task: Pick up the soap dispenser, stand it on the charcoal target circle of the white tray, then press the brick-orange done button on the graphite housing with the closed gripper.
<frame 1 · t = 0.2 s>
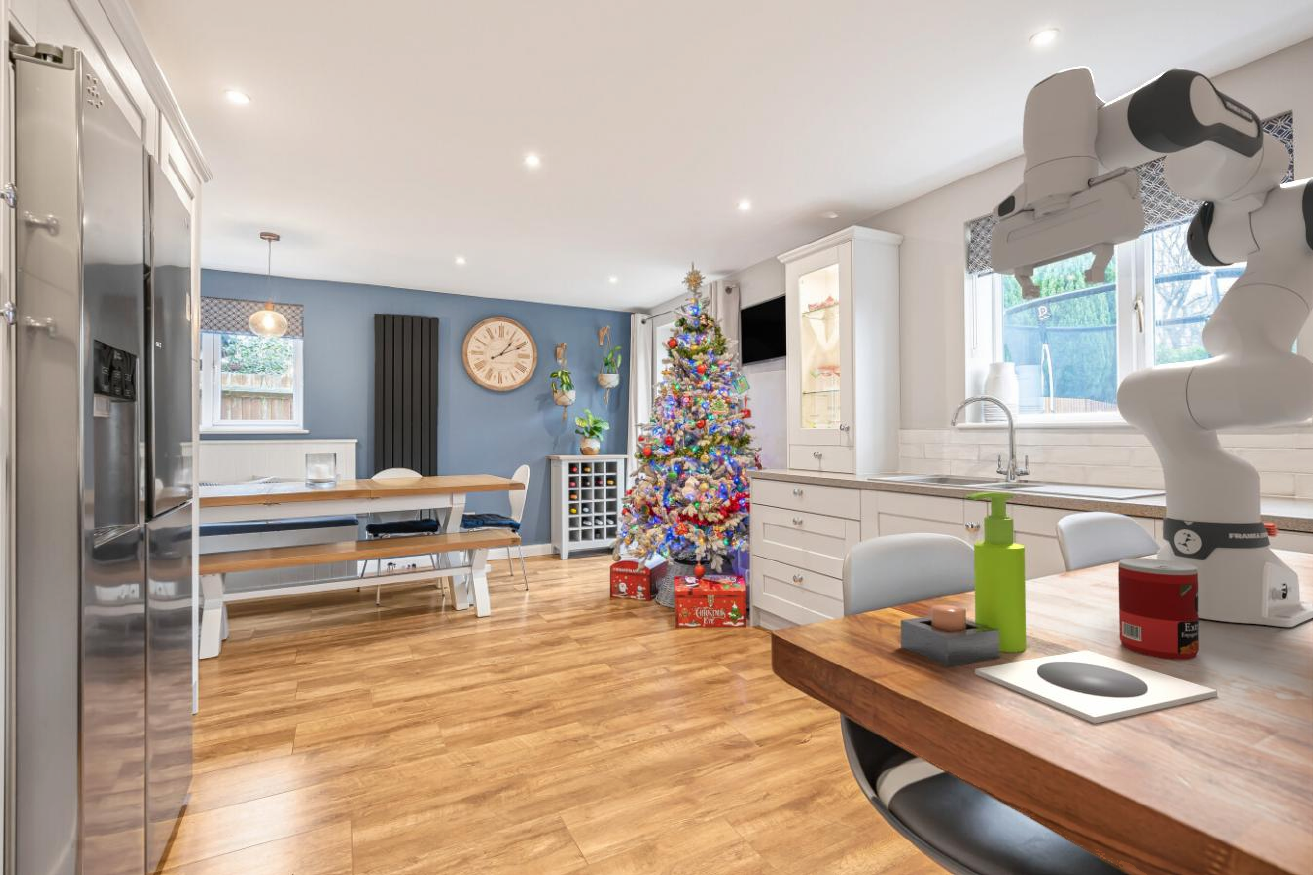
hand: (1061, 291, 89), 47 cm above the table, tool pointing down, fingers open, 8 cm apart
button housing: (948, 652, 82), on the table
soap dispenser: (996, 646, 84), on the table
canned food: (1158, 652, 82), on the table
done button: (948, 620, 82), point 4 cm above the table, slide at 0.0 cm
white tray: (1090, 684, 70), on the table
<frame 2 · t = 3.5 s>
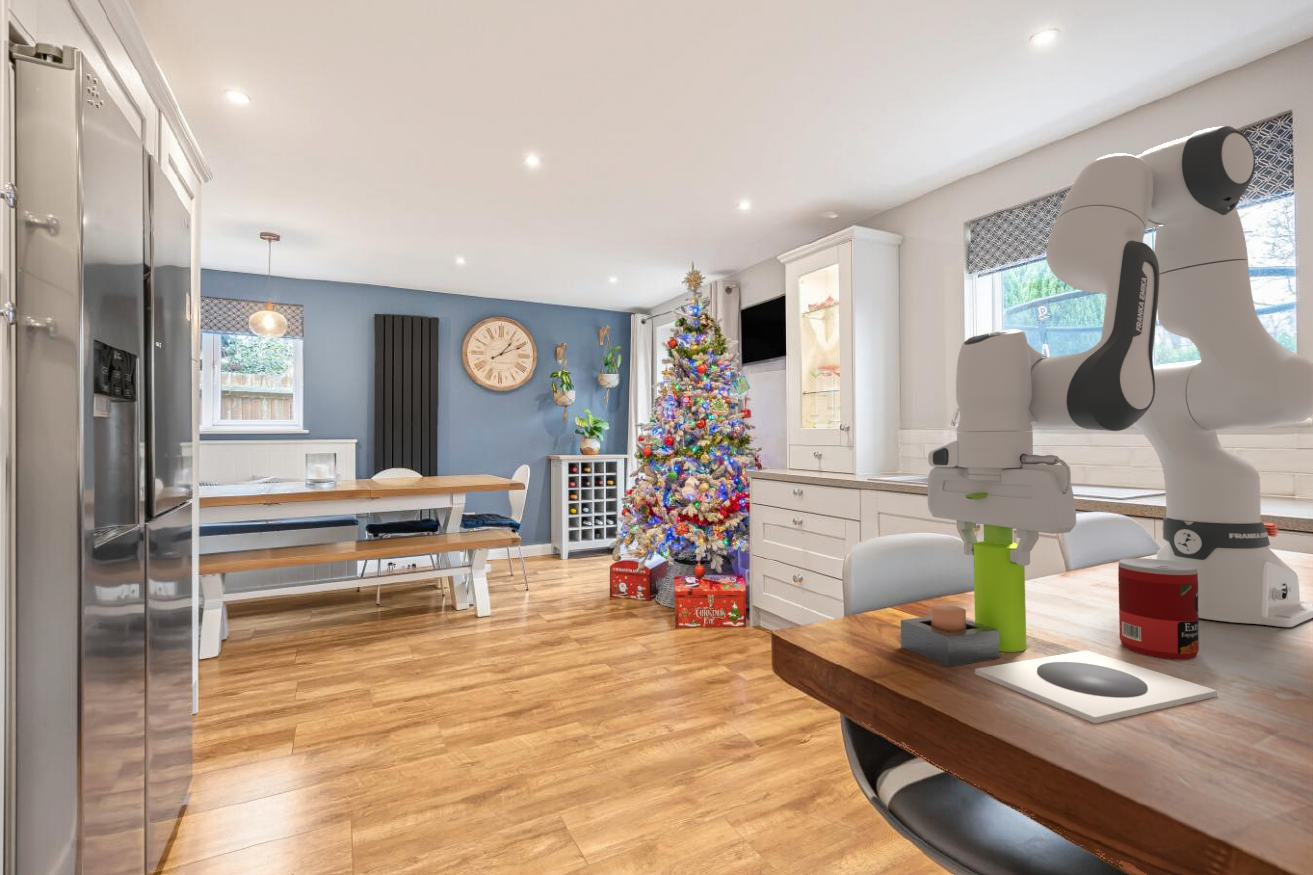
hand: (995, 559, 84), 11 cm above the table, tool pointing down, fingers closed on soap dispenser, 6 cm apart
soap dispenser: (996, 646, 84), on the table, touching gripper
everything else where it was.
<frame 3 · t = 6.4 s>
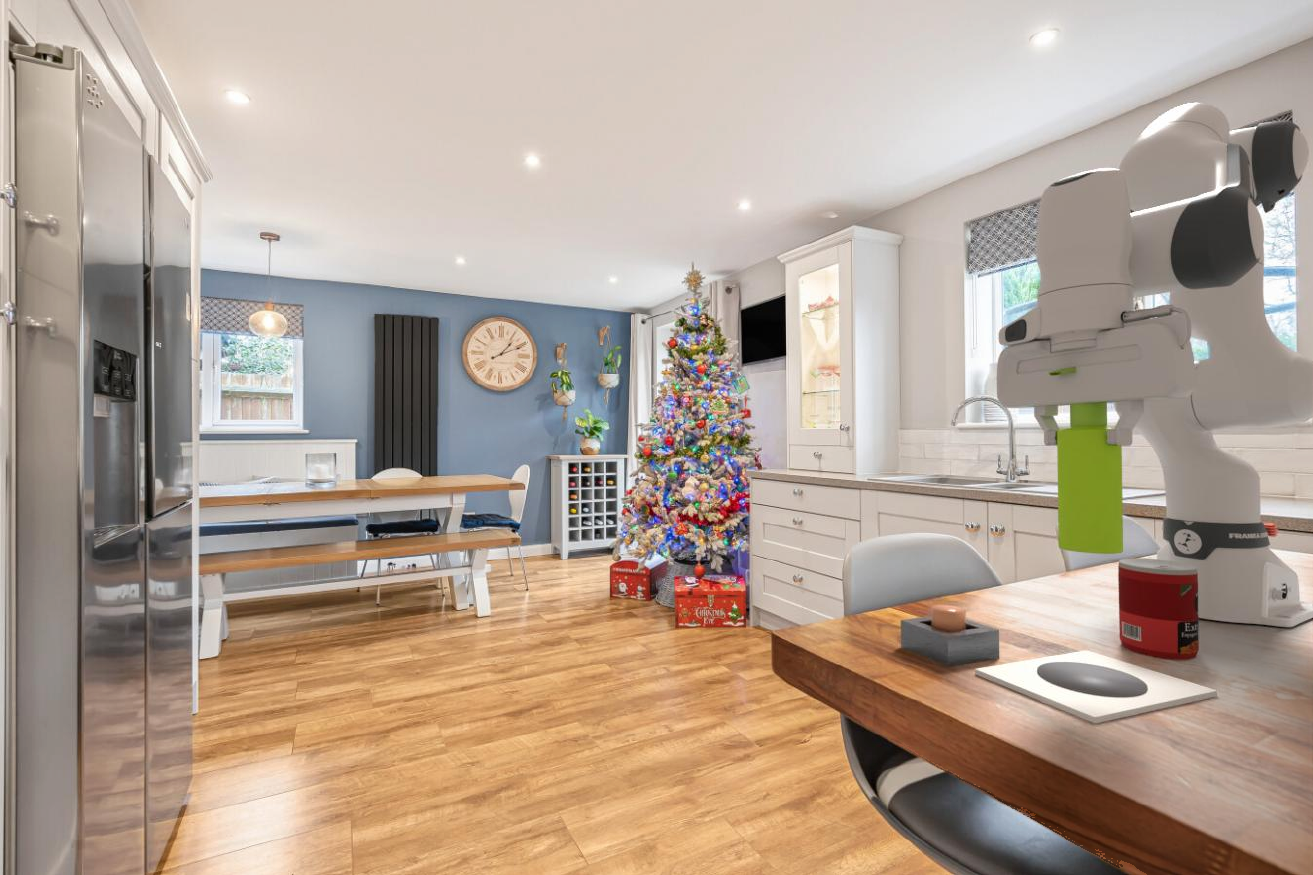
hand: (1085, 445, 71), 26 cm above the table, tool pointing down, fingers closed on soap dispenser, 6 cm apart
soap dispenser: (1085, 551, 71), point 15 cm above the table, touching gripper
everything else where it was.
when the fingers open (13 cm above the table, at t = 9.3 s): soap dispenser stays where it is, resting on white tray.
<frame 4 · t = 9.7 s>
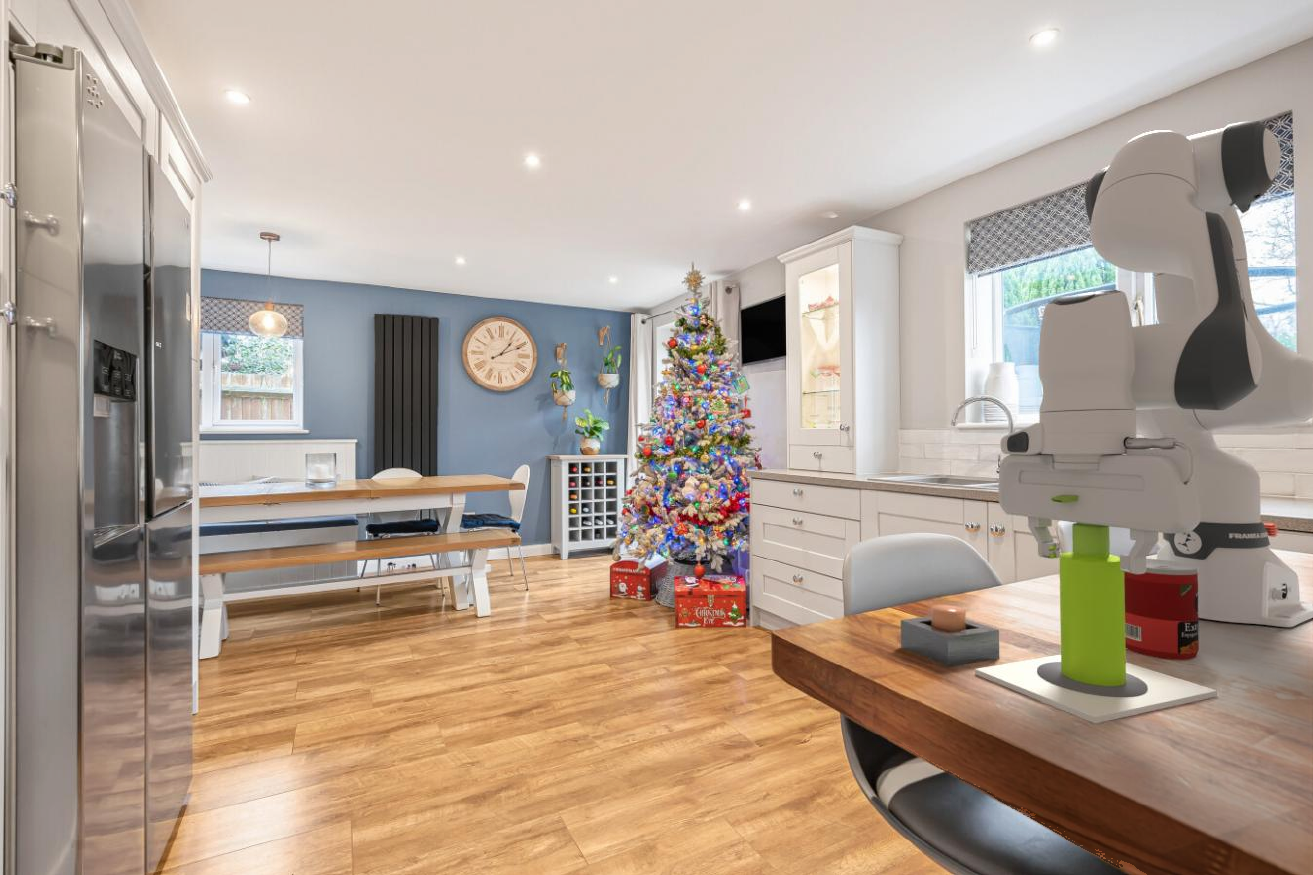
hand: (1088, 564, 71), 13 cm above the table, tool pointing down, fingers open, 8 cm apart
soap dispenser: (1088, 678, 71), point 1 cm above the table, touching white tray
everything else where it was.
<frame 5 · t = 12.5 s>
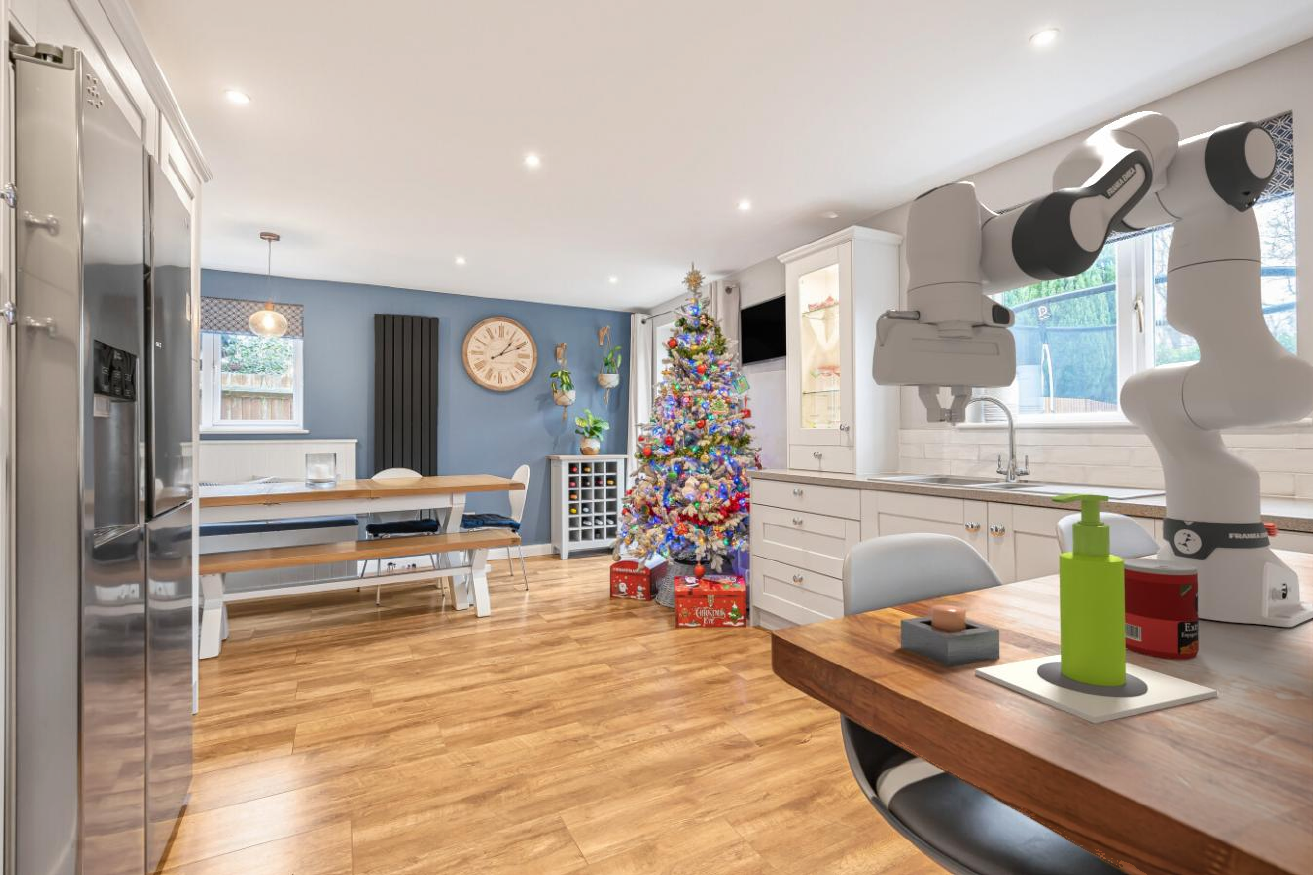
hand: (945, 422, 82), 29 cm above the table, tool pointing down, fingers closed
nothing on the table moved.
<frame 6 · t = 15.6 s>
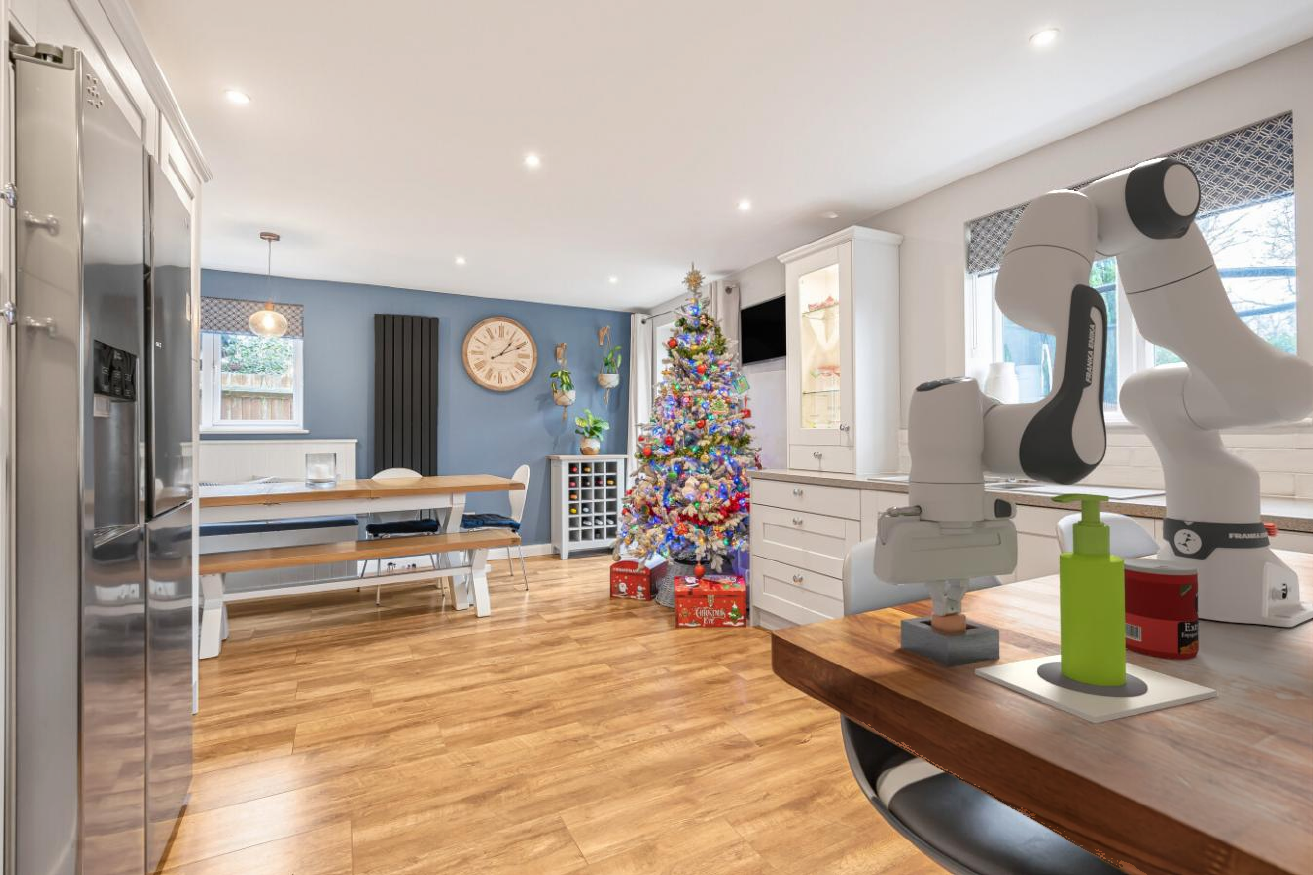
hand: (946, 614, 82), 5 cm above the table, tool pointing down, fingers closed, pressing on done button
done button: (948, 626, 82), point 3 cm above the table, slide at 0.7 cm, touching gripper
everything else where it was.
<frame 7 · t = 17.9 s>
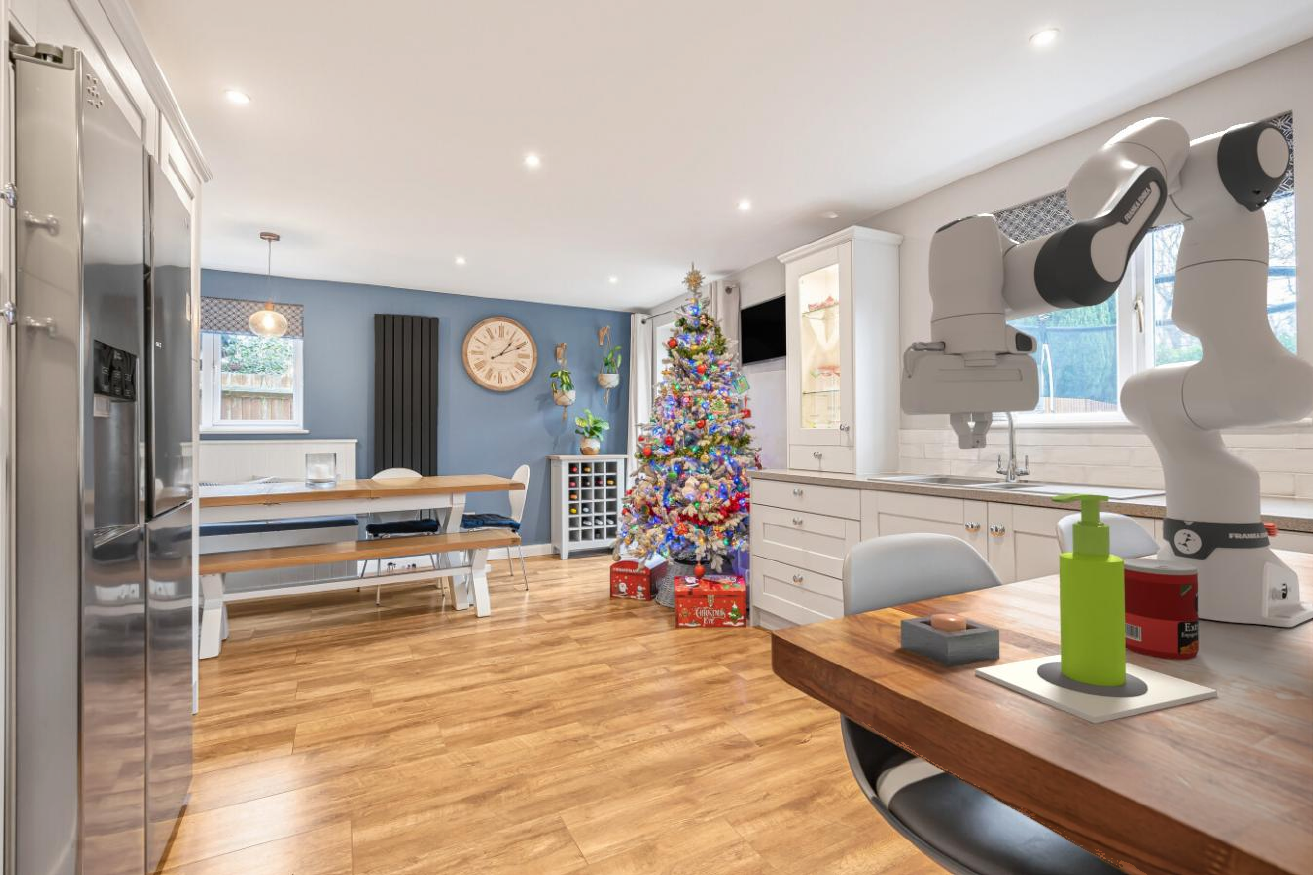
hand: (972, 448, 84), 26 cm above the table, tool pointing down, fingers closed
done button: (948, 629, 82), point 3 cm above the table, slide at 1.1 cm
everything else where it was.
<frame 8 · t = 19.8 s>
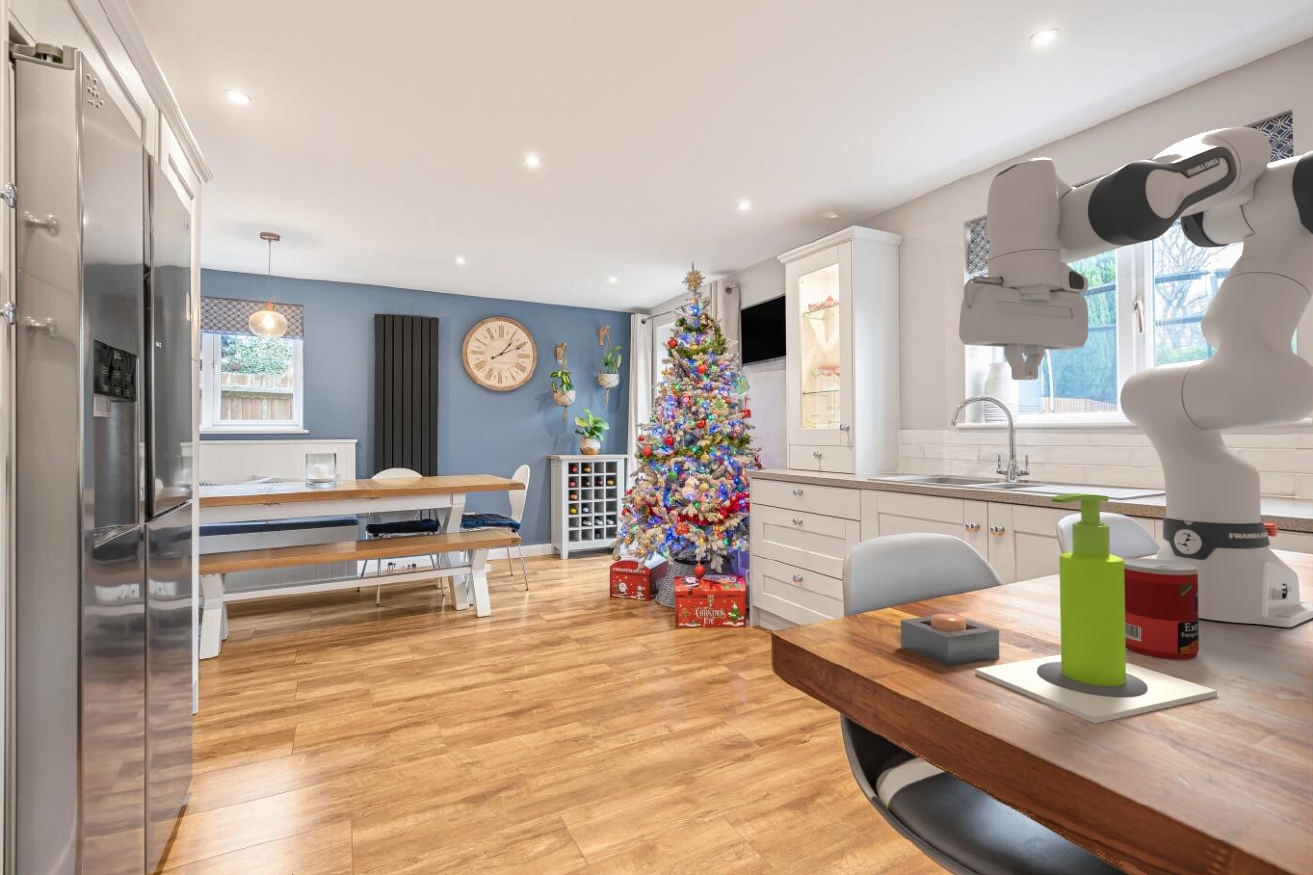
hand: (1024, 379, 89), 35 cm above the table, tool pointing down, fingers closed
nothing on the table moved.
at the end: soap dispenser inside the target area on the white tray (0.2 cm from its centre), point 0.6 cm above the white tray's base; soap dispenser tilted 0°; done button slide at 1.1 cm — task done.
